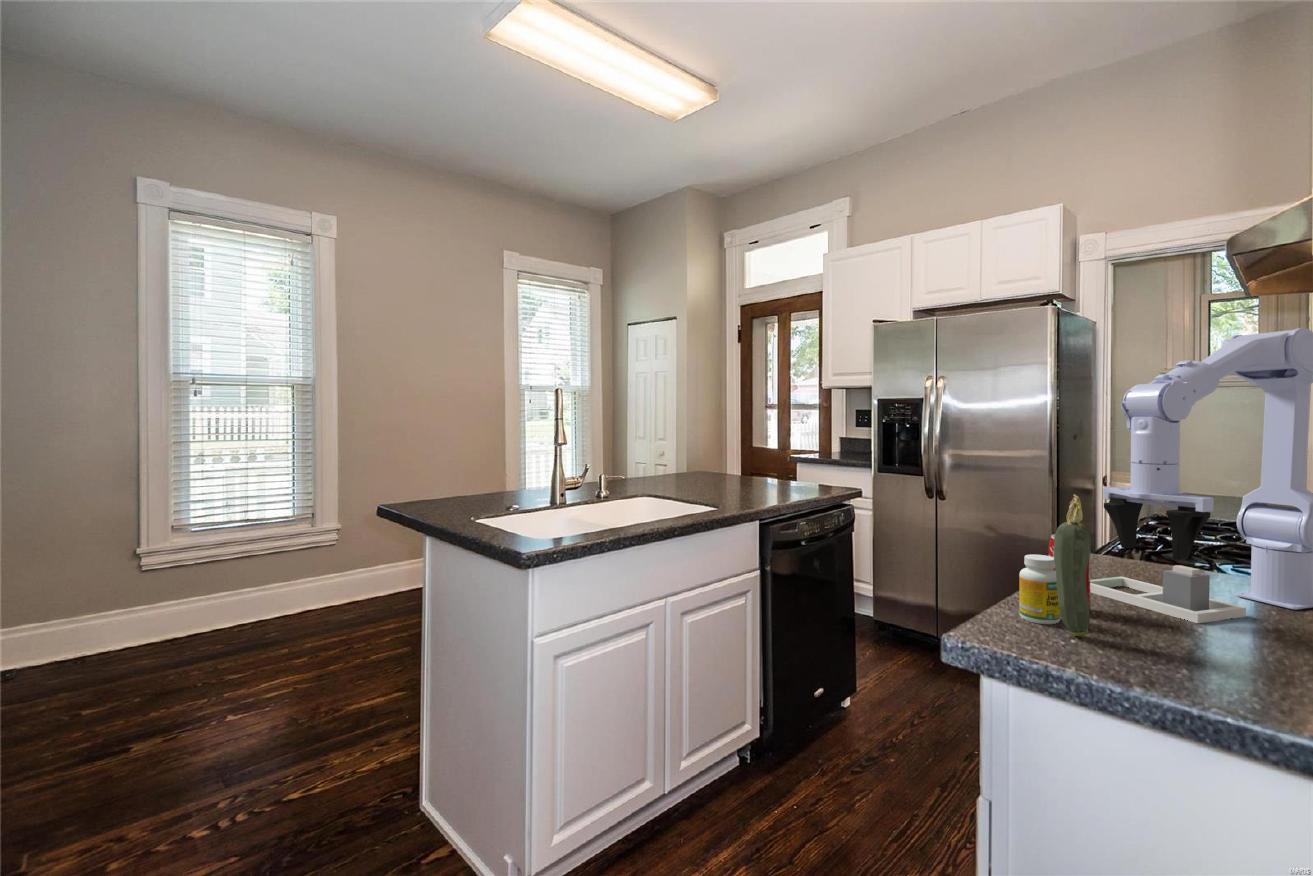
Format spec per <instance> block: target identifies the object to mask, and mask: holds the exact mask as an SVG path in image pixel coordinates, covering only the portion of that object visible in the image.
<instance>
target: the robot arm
mask: <svg viewBox="0 0 1313 876" xmlns="http://www.w3.org/2000/svg"><path fill="white" fill-rule="evenodd" d="M1175 365H1176V367H1175V368H1173V369H1172V370H1170V371H1168V372H1166V373H1163V374H1158V375H1157V376H1155V379H1154V380H1152V381H1151V382H1149V383H1142V384H1138V383H1137V384H1136V385H1133V386H1132V387H1131V388H1129V389H1128V390H1127V391H1126V392H1125V394H1124V396H1123V399H1122V402H1120V409H1121V412H1122V414H1123V416H1124V418H1125V421H1126V429H1127V431H1128V432H1129V433H1130V483H1129V485H1130V487H1120V486H1119V487H1118V486H1103V487H1102V499H1103V500H1108V502H1104V503H1103V508H1104V510H1105V511H1106V512H1107V514H1108V516H1109V518H1110V519H1111V522H1112V523H1113V525H1114V528H1115V530H1116V533H1117V536H1118V537H1117V538H1118V541H1119V545H1120V547H1121V548H1122V549H1132V548H1133V549H1134V548H1136V545H1137V540H1138V538H1137V537H1138V524H1139V523H1138V522H1139V518H1140V513H1141V511H1142V509H1143V505H1144V504H1145V505H1151V506H1160V507H1167V508H1175V509H1167V510H1166V511H1165V514H1166V517H1167V519H1168V524H1169V526H1170V531H1171V549H1172V550H1171V552H1172V558H1173V559H1176V560H1186V559H1189V557H1190V554H1191V550H1192V547H1193V545H1194V543H1195V540H1196V538H1197V536H1198V535H1199V533H1200V531H1201V529H1202V528H1203V526H1204V525H1205V524H1206V522H1208V520H1209V519H1210V518H1211V512H1214V506H1215V505H1214V500H1215V499H1214V497H1209V496H1202V495H1195V494H1191V493H1183V492H1180V472H1181V471H1180V467H1181V466H1180V462H1181V460H1180V458H1181V454H1180V453H1181V421H1182V420H1186V419H1187V418H1188V416H1189V415H1190V413H1191V410H1192V407H1193V406H1194V405H1196V403H1197V402H1199V401H1201V400H1203V399H1204V398H1205V397H1207V396H1210V395H1211V394H1212V393H1214V392H1215V391H1216V390H1217V389H1218V387H1219V386H1220V380H1221V379H1223V378H1225V377H1228V376H1230V375H1232V374H1234V375H1235V376H1237V377H1239V378H1241V379H1242V380H1244V382H1247V383H1249V384H1252V385H1255V386H1258V387H1259V388H1260V389H1262V391H1264V394H1265V397H1264V415H1263V432H1262V433H1263V434H1262V453H1261V454H1262V455H1261V469H1260V470H1261V471H1260V473H1261V474H1260V486H1259V487H1258V488H1256V489H1254V490H1251V491H1250V492H1248V493H1246V494H1245V495H1244V496H1242V502H1241V505H1240V510H1239V511H1238V513H1237V516H1236V527H1237V530H1238V532H1239V534H1240V535H1241V537H1242V538H1244V539H1245V543H1246V544H1247V545H1251V551H1250V553H1251V560H1250V591H1243V592H1242V591H1241V592H1236V596H1237V597H1240V598H1244V599H1248V600H1253V601H1257V602H1261V603H1265V604H1269V605H1273V606H1277V607H1282V608H1286V609H1290V610H1296V611H1297V610H1304V609H1312V608H1313V492H1312V491H1310V490H1309V489H1307V488H1306V487H1307V486H1306V485H1307V468H1308V466H1307V465H1308V451H1309V434H1310V433H1309V432H1310V431H1309V429H1310V428H1309V427H1310V411H1311V395H1312V384H1313V331H1312V330H1310V329H1309V328H1307V327H1300V328H1298V327H1297V328H1295V329H1287V330H1281V331H1280V330H1279V331H1269V332H1262V333H1254V334H1253V333H1252V334H1244V335H1243V334H1236V335H1233V336H1232V335H1231V336H1230V337H1229V338H1227V339H1224V340H1222V342H1221V347H1220V348H1219V349H1217V350H1216V351H1214V352H1213V353H1211V354H1210V355H1208V356H1207V357H1205V358H1204V359H1203V360H1201V361H1198V360H1192V359H1191V360H1190V359H1188V360H1179V361H1178V362H1176V364H1175ZM1270 504H1271V505H1270ZM1276 505H1281V506H1276ZM1285 506H1286V507H1285ZM1289 506H1290V507H1289ZM1293 507H1294V508H1293Z"/></svg>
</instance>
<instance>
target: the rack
mask: <svg viewBox="0 0 1313 876" xmlns="http://www.w3.org/2000/svg"><path fill="white" fill-rule="evenodd" d="M1117 586H1118V587H1126V588H1128V587H1129V589H1132V590H1136V591H1141V592H1143V593H1138V594H1134V593H1129V592H1125V591H1122V590H1118V589H1114V588H1115V587H1116V588H1117ZM1090 594H1094V595H1098V596H1101V597H1105V598H1108V599H1111V600H1114V601H1118V602H1122V603H1126V604H1128V605H1132V606H1136V607H1139V608H1142V609H1147V610H1150V611H1153V612H1156V613H1159V614H1164V615H1166V616H1170V617H1175V618H1177V619H1180V618H1181V620H1184V619H1185V620H1184V621H1187V620H1188V621H1187V622H1191V623H1195V624H1197V623H1198V624H1204V623H1211V622H1217V621H1218V622H1219V621H1225V619H1226V620H1231V619H1230V618H1233V619H1241V618H1246V616H1247V607H1244V606H1240V605H1237V604H1233V603H1229V602H1225V601H1221V600H1217V599H1213V598H1209V610H1202V611H1192V610H1188V609H1184V608H1181V607H1177V606H1173V605H1170V604H1166V603H1163V585H1162V586H1161V585H1158V584H1153V583H1149V582H1145V581H1141V580H1137V579H1132V578H1130V577H1126V576H1113V577H1105V578H1103V577H1102V578H1095V579H1094V578H1093V579H1090Z"/></svg>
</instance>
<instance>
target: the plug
mask: <svg viewBox="0 0 1313 876" xmlns="http://www.w3.org/2000/svg"><path fill="white" fill-rule="evenodd" d="M1200 571H1201V569H1199V568H1194V567H1190V566H1185V565H1173V566H1172V569H1167V570H1163V571H1162V587H1163V602H1162V603H1166V604H1170V605H1173V606H1177V607H1181V608H1184V609H1188V610H1192V611H1202V610H1210V609H1209V599H1210V581H1211V580H1210V577H1211V575H1210V574H1207V573H1202V572H1200Z"/></svg>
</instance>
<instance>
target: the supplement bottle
mask: <svg viewBox="0 0 1313 876" xmlns="http://www.w3.org/2000/svg"><path fill="white" fill-rule="evenodd" d="M1023 560H1024V562H1023V563H1024V565H1025V567H1024V568H1022V569H1021V570H1020V571H1019V575H1018V577H1019V580H1018V581H1019V583H1018V584H1019V593H1018V595H1019V603H1018V604H1019V607H1018V610H1019V612H1018V613H1019V616H1020V617H1021V619H1022V620H1024V621H1027V622H1029V623H1034V624H1038V625H1056V623H1057V624H1058V623H1059V622H1060V621H1061V613H1060V608H1059V602H1058V589H1057V582H1056V571H1054V570H1053V569H1054V568H1055V563H1054V558H1053V557H1050V556H1049V555H1045V554H1044V555H1043V554H1032V553H1031V554H1026V555H1024V559H1023Z"/></svg>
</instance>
